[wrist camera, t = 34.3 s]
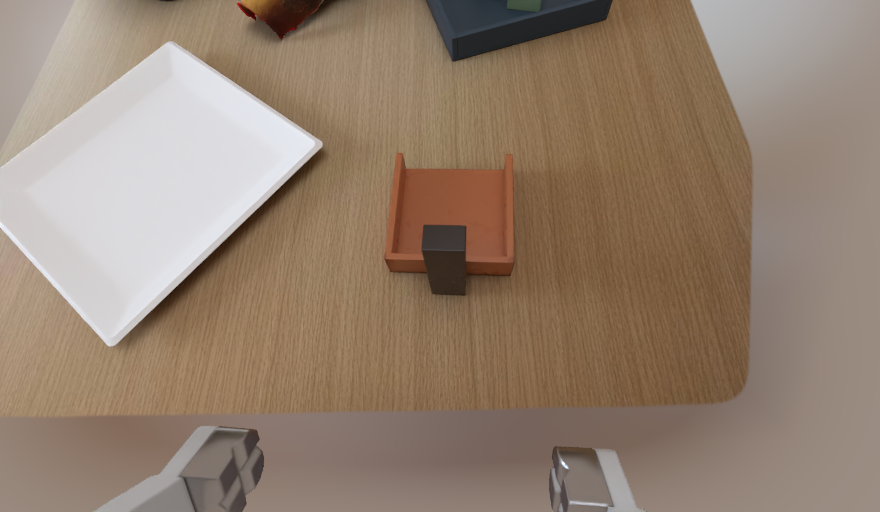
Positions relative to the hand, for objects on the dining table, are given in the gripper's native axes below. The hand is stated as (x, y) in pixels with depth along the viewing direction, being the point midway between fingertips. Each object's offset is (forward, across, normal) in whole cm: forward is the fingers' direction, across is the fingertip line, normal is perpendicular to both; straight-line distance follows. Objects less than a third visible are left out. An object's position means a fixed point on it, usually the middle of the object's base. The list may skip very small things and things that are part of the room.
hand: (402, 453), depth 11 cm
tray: (+51, -6, -19) cm, 55 cm away
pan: (+30, 0, +3) cm, 30 cm away
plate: (+33, +32, 0) cm, 45 cm away
